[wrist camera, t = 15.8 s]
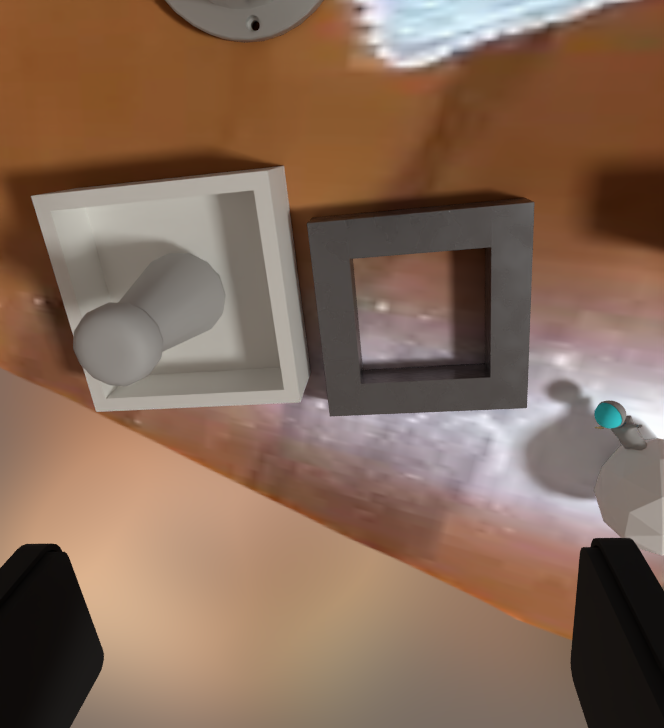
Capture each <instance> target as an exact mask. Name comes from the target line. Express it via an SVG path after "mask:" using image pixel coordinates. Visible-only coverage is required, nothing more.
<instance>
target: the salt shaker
mask: <svg viewBox="0 0 664 728" xmlns="http://www.w3.org/2000/svg"><path fill="white" fill-rule="evenodd" d="M225 296H226V294H225V291H224V288H223V284H222V281H221V278H220V275H219V274H218V273H217V272H216V271H215V270H214V269H213V268H212V267H211V266H210V264H209V263H208V262H206V261H204V260H202V259H200V258H198V257H196V256H194V255H192V254H190V253H168V254H166V255H164V256H162V257H160V258H158V259H156V260H154V261H151V263H150V264H149V265H148V266H147V268H146V269H145V270H144V271H143V273H142V274H141V275H140V276H139V277H138V279H137V280H136V281H135V282H134V284H133V285H132V286H131V287H130V289H129V290H128V291H127V292H126V293H125V295H124V296H123V297H122V298H121V300H120V301H119V302H118V303H115V302H109V303H106V304H104V305H102V306H100V307H98V308H96V309H94V310H91V311H89V312H87V313H86V314H85V315H84V317H83V318H82V319H81V321H80V322H79V324H78V326H77V327H76V329H75V331H74V338H73V349H74V351H75V354H76V356H77V358H78V361H79V363H80V365H81V366H82V367H83V368H84V369H85V370H86V371H87V372H88V373H89V374H90V375H91V376H92V377H93V378H95V379H97V380H99V381H101V382H104V383H106V384H108V385H114V386H128V385H130V384H132V383H135V382H137V381H139V380H141V379H143V378H145V377H147V376H148V375H149V374H150V373H151V371H152V370H153V369H154V367H155V366H156V365H157V363H158V362H159V361H160V359H161V357H162V352H163V351H165V350H167V349H170V348H172V347H174V346H176V345H178V344H180V343H183V342H185V341H187V340H189V339H191V338H193V337H195V336H198V335H200V334H202V333H204V332H206V331H208V330H210V329H212V328H213V326H214V325H215V324H216V322H217V321H218V320H219V318H220V317H221V316H222V314H223V310H224V303H225Z"/></svg>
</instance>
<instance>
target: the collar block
mask: <svg viewBox="0 0 664 728" xmlns="http://www.w3.org/2000/svg"><path fill="white" fill-rule="evenodd" d="M533 224H534V202H533V201H531V200H529V199H527V198H518V199H507V200H497V201H486V202H475V203H465V204H454V205H443V206H433V207H422V208H411V209H401V210H390V211H379V212H369V213H358V214H348V215H337V216H326V217H316V218H312V219H311V220H310V221H309V222H308V223H307V228H308V236H309V244H310V253H311V261H312V270H313V278H314V286H315V295H316V303H317V312H318V320H319V328H320V337H321V345H322V353H323V362H324V370H325V379H326V387H327V395H328V404H329V412H330V416H349V415H372V414H396V413H420V412H443V411H467V410H491V409H515V408H527V390H528V362H529V335H530V307H531V280H532V252H533ZM475 248H485V363H484V364H465V365H446V366H428V367H409V368H391V369H372V370H363V367H362V356H361V345H360V334H359V323H358V311H357V300H356V289H355V278H354V267H353V259H354V258H366V257H378V256H390V255H402V254H415V253H427V252H439V251H451V250H463V249H475Z"/></svg>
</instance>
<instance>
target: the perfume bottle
mask: <svg viewBox="0 0 664 728" xmlns="http://www.w3.org/2000/svg"><path fill="white" fill-rule="evenodd" d="M594 415H595V419H596V421H597V423H598V424H599V425H601V426H599V427H595V428H598V429H603V428H604V427H605V428H611V430H612V431H613V433H614V434H615V435H616V436H617V438H618V439H619V441H620V443H621V444H622V445H621V446H620V447H619V448H618V449H617V450H616V451H615V452H614V454H613V455H612V456H611V457H610V458H609V459H608V460H607V461H606V463H605V464H604V465H603V466H602V468H601V470H600V473H599V476H598V479H597V482H596V485H595V488H594V493H595V496H596V499H597V502H598V505H599V508H600V511H601V515H602V518H603V521H604V522H605V523H606V524H607V525H608V526H609V527H610V528H612V529H613V530H614V531H615V532H616V533H617V534H618V535H619V536H620V537H621V538H631V539H632V540H633V541H634V542H635V543H636V545H637V546H638V548H639V549H642V550H645V551H649V552H652V553H655V554H659V555H664V440H663V439H658V438H657V439H650V440H644V439H643V438H642V436H641V434H640V433H639V431H638V429H637V427H638V428H639V427H642V425H636V424H634V422H633V420H632V417H631V416H626V411H625V409H624V407H623V406H622V405H621V404H619V403H617V402H615V401H603V402H601V403H600V404H599V405H598V406H597V408H596V410H595V414H594Z"/></svg>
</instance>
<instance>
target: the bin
mask: <svg viewBox="0 0 664 728" xmlns="http://www.w3.org/2000/svg"><path fill="white" fill-rule="evenodd" d="M31 198H32V201H33V204H34V208H35V211H36V214H37V218H38V221H39V224H40V228H41V231H42V234H43V237H44V241H45V244H46V247H47V251H48V254H49V257H50V261H51V264H52V267H53V270H54V274H55V277H56V280H57V284H58V287H59V290H60V294H61V297H62V300H63V303H64V307H65V310H66V313H67V317H68V320H69V323H70V327H71V330H72V333H73V336H74V331H75V329H76V327H77V326H78V324H79V322H80V321H81V319H82V318H83V317H84V315H85V314H86V313H87V312H89V311H91V310H94V309H96V308H98V307H100V306H102V305H104V304H106V303H109V302H115V303H118V302H119V301H120V300H121V298H122V297H123V296H124V295H125V293H126V292H127V291H128V290H129V289H130V287H131V286H132V285H133V284H134V282H135V281H136V280H137V279H138V277H139V276H140V275H141V274H142V273H143V271H144V270H145V269H146V268H147V266H148V265H149V264H150V263H151V261H154V260H156V259H158V258H160V257H162V256H164V255H166V254H168V253H190V254H192V255H194V256H196V257H198V258H200V259H202V260H204V261H206V262H208V263H209V264H210V266H211V267H212V268H213V269H214V270H215V271H216V272H217V273H218V274H219V275H220V278H221V281H222V284H223V288H224V291H225V294H226V296H225V303H224V310H223V314H222V316H221V317H220V318H219V320H218V321H217V322H216V324H215V325H214V326H213V328H212V329H210V330H208V331H206V332H204V333H202V334H200V335H198V336H195V337H193V338H191V339H189V340H187V341H185V342H183V343H180V344H178V345H176V346H174V347H172V348H170V349H167V350H165V351H163V352H162V357H161V359H160V361H159V362H158V363H157V365H156V366H155V367H154V369H153V370H152V371H151V373H150V374H149V375H148V376H147V377H145V378H143V379H141V380H139V381H137V382H135V383H132V384H130V385H128V386H114V385H108V384H106V383H104V382H101V381H99V380H97V379H95V378H93V377H92V376H91V375H90V374H89V373H88V372H87V371H86V370H85V369H84V368H83V369H84V373H85V376H86V379H87V383H88V386H89V389H90V393H91V396H92V399H93V402H94V406H95V409H96V412H102V411H123V410H145V409H167V408H188V407H210V406H232V405H253V404H275V403H297V402H301V399H302V396H303V394H304V391H305V388H306V385H307V382H308V379H309V376H310V374H311V370H310V363H309V355H308V347H307V340H306V332H305V324H304V317H303V309H302V301H301V294H300V286H299V278H298V270H297V263H296V255H295V247H294V240H293V232H292V224H291V217H290V209H289V201H288V194H287V186H286V178H285V170H284V166H278V167H269V168H260V169H250V170H241V171H232V172H223V173H213V174H204V175H195V176H186V177H176V178H167V179H158V180H149V181H139V182H130V183H121V184H112V185H102V186H93V187H84V188H75V189H69V190H63V191H57V192H51V193H45V194H39V195H33V196H31Z"/></svg>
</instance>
